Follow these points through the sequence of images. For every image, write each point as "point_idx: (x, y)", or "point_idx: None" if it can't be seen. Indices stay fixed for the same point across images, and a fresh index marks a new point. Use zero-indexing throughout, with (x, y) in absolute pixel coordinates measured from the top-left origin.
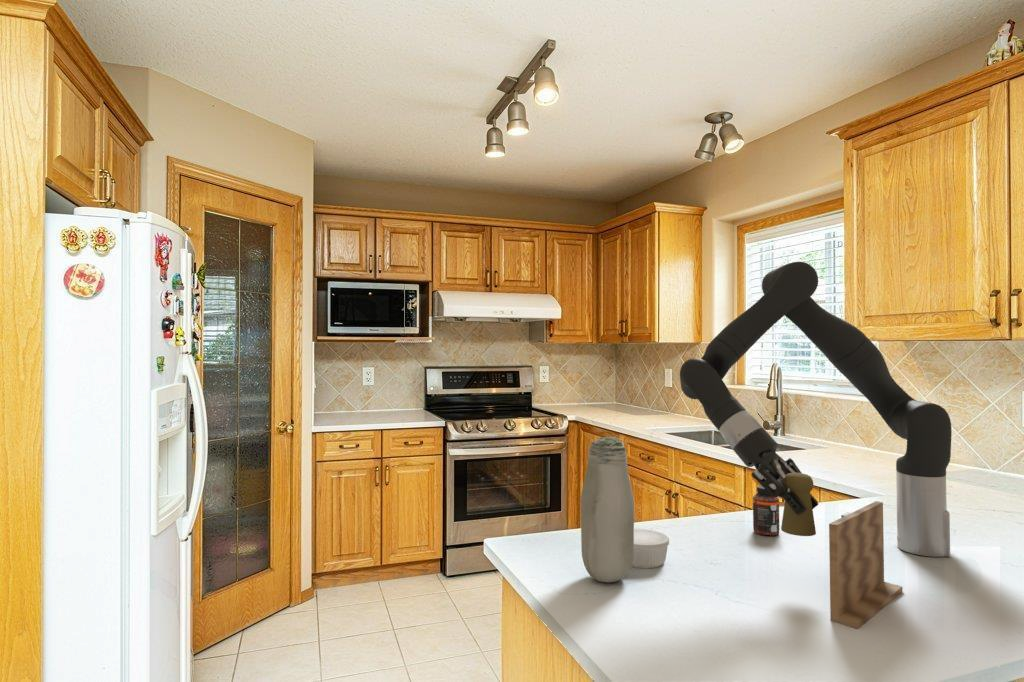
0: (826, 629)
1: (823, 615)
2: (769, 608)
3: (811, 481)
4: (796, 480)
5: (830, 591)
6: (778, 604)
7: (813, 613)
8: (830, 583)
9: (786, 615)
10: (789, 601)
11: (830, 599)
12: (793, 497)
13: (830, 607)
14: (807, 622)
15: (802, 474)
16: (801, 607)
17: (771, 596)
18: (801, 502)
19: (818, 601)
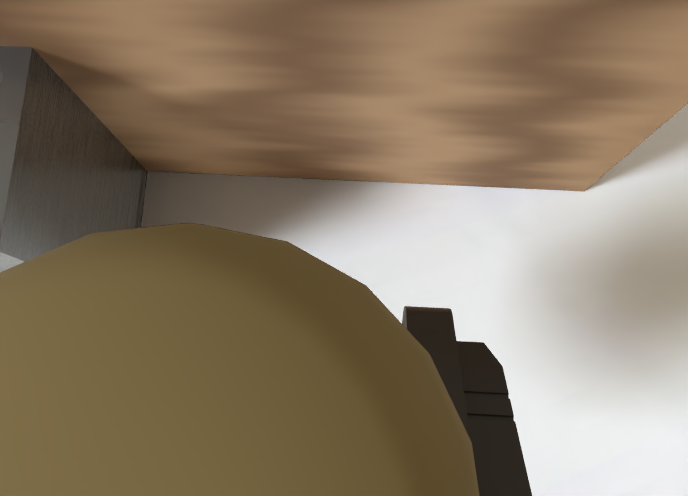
0: (679, 175)
1: (559, 226)
2: (674, 419)
3: (195, 226)
4: (461, 464)
5: (634, 147)
6: (600, 407)
7: (572, 261)
8: (652, 131)
9: (683, 335)
10: (528, 384)
11: (618, 161)
12: (478, 463)
13: (603, 173)
14: (677, 248)
15: (156, 424)
16: (551, 320)
17: (537, 470)
18: (445, 354)
19: (429, 290)
